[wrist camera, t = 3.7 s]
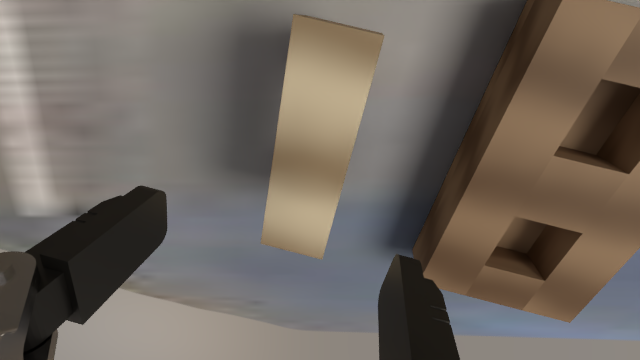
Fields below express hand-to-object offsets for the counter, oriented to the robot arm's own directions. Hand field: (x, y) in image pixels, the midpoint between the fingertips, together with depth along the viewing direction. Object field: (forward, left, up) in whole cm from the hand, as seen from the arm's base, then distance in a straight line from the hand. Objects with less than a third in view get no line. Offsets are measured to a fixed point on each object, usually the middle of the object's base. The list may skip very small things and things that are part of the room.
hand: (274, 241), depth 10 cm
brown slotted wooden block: (0, +16, -15) cm, 22 cm away
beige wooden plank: (0, 0, -15) cm, 15 cm away
